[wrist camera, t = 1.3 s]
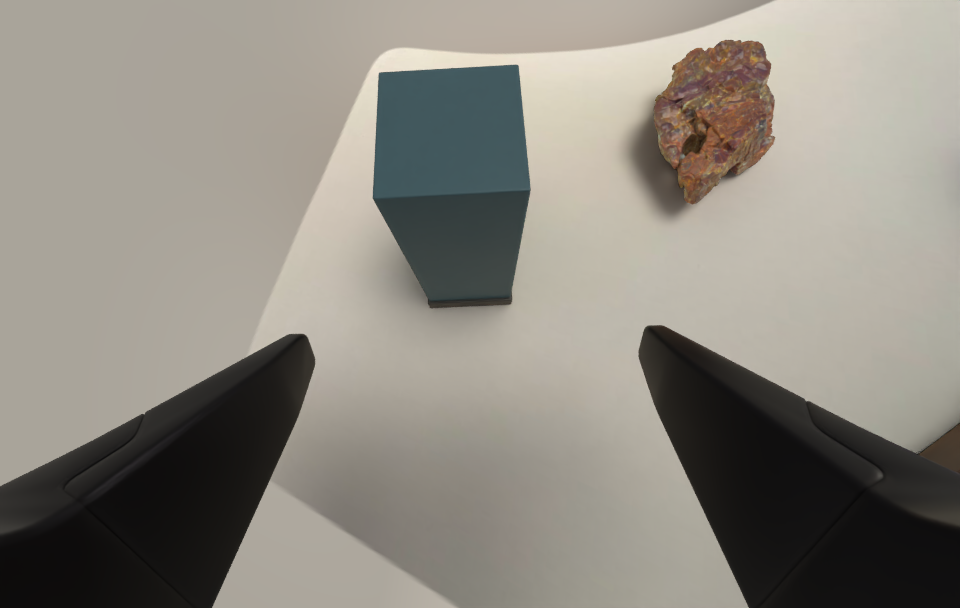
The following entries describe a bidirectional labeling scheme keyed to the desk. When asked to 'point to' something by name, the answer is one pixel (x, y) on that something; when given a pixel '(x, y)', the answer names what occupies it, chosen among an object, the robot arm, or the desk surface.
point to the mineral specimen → (715, 114)
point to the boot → (454, 178)
